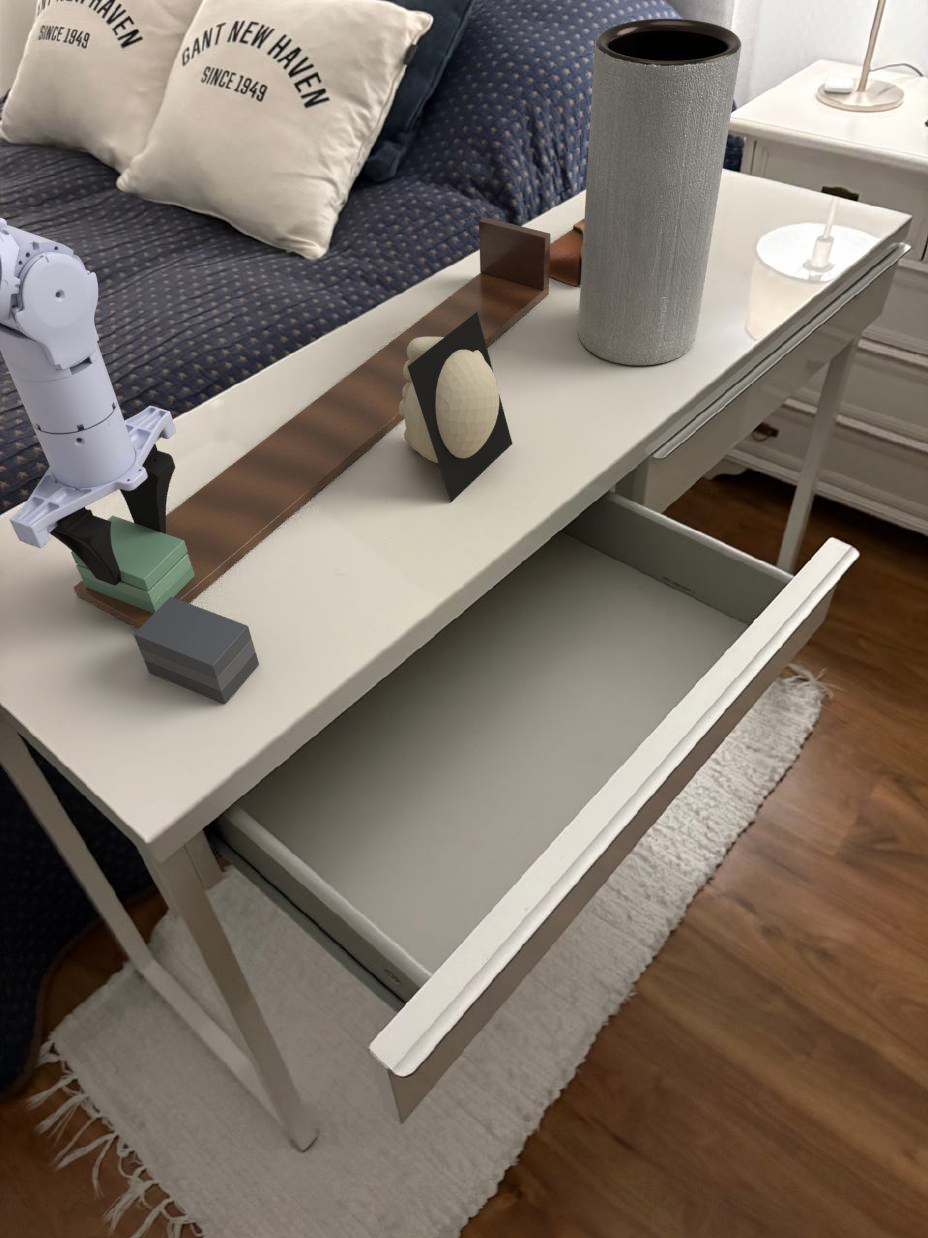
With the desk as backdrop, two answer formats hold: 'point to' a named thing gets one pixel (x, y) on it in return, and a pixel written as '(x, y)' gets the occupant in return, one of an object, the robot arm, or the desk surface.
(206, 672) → the grey books
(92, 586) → the green flat block
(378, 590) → the desk surface
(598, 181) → the planter
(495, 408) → the decorative object
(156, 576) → the sage book
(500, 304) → the book ledge
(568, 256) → the sunglasses case
